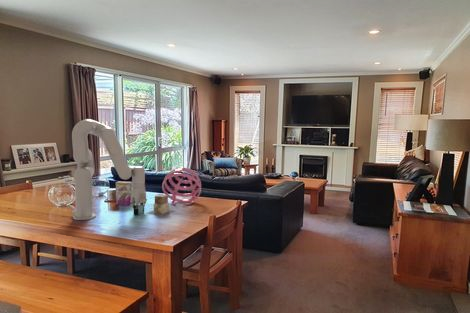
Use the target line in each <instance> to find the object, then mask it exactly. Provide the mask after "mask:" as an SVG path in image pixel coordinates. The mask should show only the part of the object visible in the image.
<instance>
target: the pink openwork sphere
mask: <svg viewBox="0 0 470 313" xmlns="http://www.w3.org/2000/svg"><path fill="white" fill-rule="evenodd" d="M183 172H186V173H183ZM187 173H189V174H187ZM173 177H174V178H175V180H176V181H178V182H177V183H176V182H174V180H173ZM180 177H181V178H180ZM184 177H185V178H187V179H184ZM167 180H168V182H169V184H170V185H171V186H172V187H173V188H174V189H172V188H171V187H170V186H169V185H168V183H167ZM193 181H194V182H195V183H194V184H193ZM181 184H190V186H181ZM161 186H162V192H163V193H164V195H168V198H169V199H170V201H171V204H172V205H173V206H176V205H177V204H178V203H181V205H183V206H190V205H192V204H193V203H194V202H195V200H196V199H198V197H200V195H201V193H202V181H201V179H200V177H199V176H198V174H197V173H196V172H195V171H194V170H192V169H190V168H188V167H176V168H174V169H172V170H171V171H169V172H167V174H166V175H165V177H164V179H163V181H162V185H161ZM196 187H198V188H197V189H196ZM195 189H196V190H195ZM166 190H167V191H168V192H170V194H171V195H170V194H169V193H168V192H167V191H166ZM179 190H180V191H191V192H190V193H181V192H178V191H179ZM177 197H181V198H188V199H180V198H177ZM189 197H191V198H189Z"/></svg>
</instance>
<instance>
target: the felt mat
mask: <svg viewBox="0 0 470 313" xmlns="http://www.w3.org/2000/svg"><path fill="white" fill-rule="evenodd" d="M175 212H176V210H174V209H169V212H166V213H164V214H159V213H154V209H153V210H151V211H148V212H146V213H145V214H148V215H153V216H161V217H165V216H167V215H170V214H172V213H175Z"/></svg>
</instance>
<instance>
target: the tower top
mask: <svg viewBox="0 0 470 313" xmlns="http://www.w3.org/2000/svg"><path fill="white" fill-rule="evenodd" d="M168 198H169V197H168V195H166V194H161V193H160V194H157V195H154V203H155V204H162V205H163V204H165V203H168V202H169V199H168Z"/></svg>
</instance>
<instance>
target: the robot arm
mask: <svg viewBox="0 0 470 313" xmlns="http://www.w3.org/2000/svg"><path fill="white" fill-rule="evenodd" d="M89 134H91V135H93V136H96V137H97V138H100V139H101V141H102V143H103V145H104V147H105V149H106V151H107V153H108V155H109V157H110V159H111V161H112V162H111V163H112V164H113V166H114V168H115V171H116V173H117V174H118V176H119V178H120V179H122V180H129V179H130V178H131V177H132V180H131V182H132V183H133V188H132V190H131V204H130V205H129V206H131V207H132V209H133V215H134V216H139V215H138V209H137V208H138V204H142V205H143V214H144V213H145V206H146V203H147V201H148V199H147V191H146V182H145V181H146V180H145V179H146V175H145V174H146V169H145V166H144V165H137V166H135V165H134V166H133V165H128V164H129V163H128V162H127V160H126V158H125V154H124V150H123V146H122V144H121V143H120V141H119V139H118V136H117V134H116V131H115V129H114V128H113V127H110V126H107V125H105V124H103V123H101V122H98V121H96V120H94V119H89V118H85V119H82V120H81V121H78V122H77V123H76V124H75V125H74V127H73V128H72V131H71V141H72V144H71V145H72V156H73V160H74V162H75V163H76V167H77V168H76V169H75V170H74V173H73V181H74V182H73V184H74V199H75V204H74V205H75V209H73V210H72V214H74V215H73V216H72V219H73V220H74V221H87V220H91V219H94V218H95V217H96V213H94V212H93V210H94V209H93V208H94V206H93V205H94V204H93V203H94V202H93V200H94V198H93V180H92V179H93V178H92V177H93V176H94V174H95V166H94V157H93V152H92V151H91V149H89V140H88V139H89V138H88V135H89ZM135 205H136V206H135Z"/></svg>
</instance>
